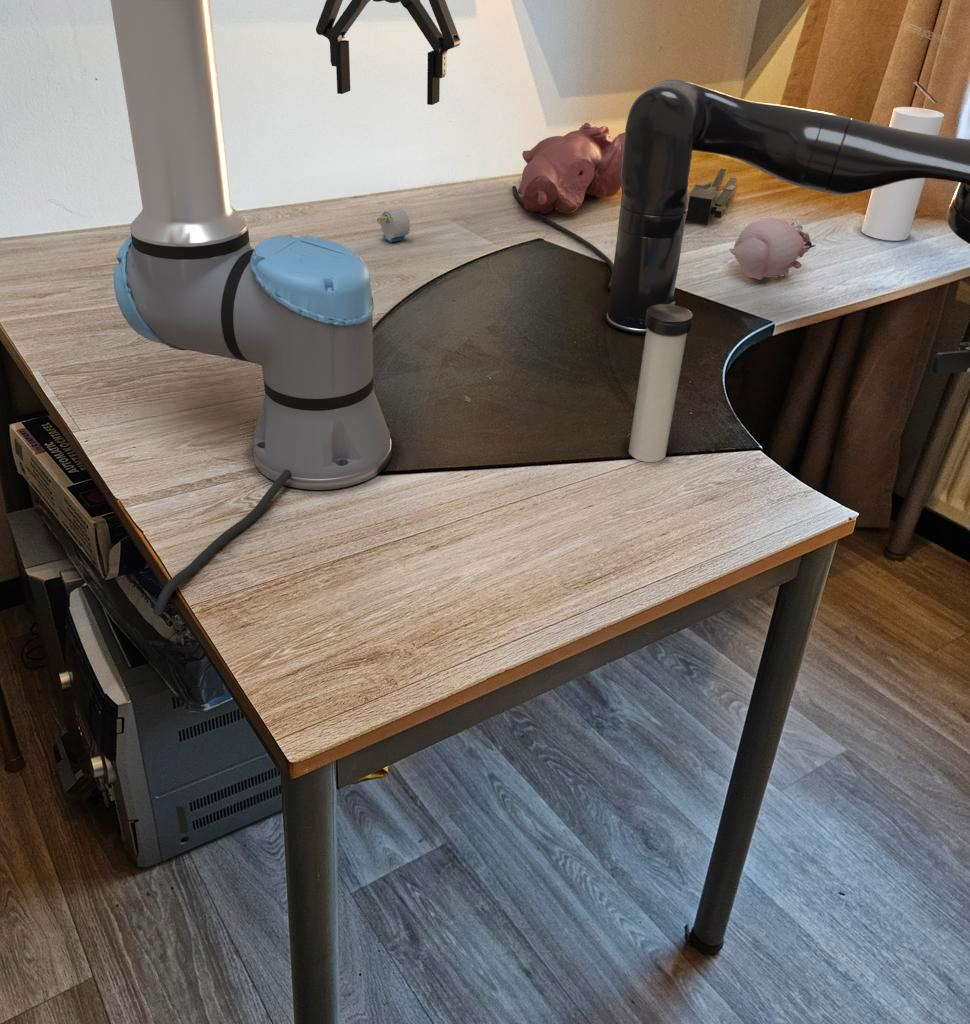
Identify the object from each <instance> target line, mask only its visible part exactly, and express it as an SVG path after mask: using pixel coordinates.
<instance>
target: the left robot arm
mask: <svg viewBox="0 0 970 1024" xmlns="http://www.w3.org/2000/svg"><path fill="white" fill-rule="evenodd" d="M343 1H344V0H325V3H324V5H323V8H322V11H321V13H320V16H319V19H318V22H317V24H316V27H315V33H316V34H317V35H318V36H323V37H324V38H326V39H327V40H328V42H329V54H330V56H329V57H330V65H331V67H335V70H336V71H335V72H336V94H339V95H343V94H346V93H349V92H351V67H350V66H351V63H350V41H349V40H345V38H346V36H345V35H347V33H348V31H349V30H350V29H351V27H352V26H353V24H354V23H355V21H356V20H357V19H358V18H359V16H360V14H361V13H362V12H363V10H364V9H365V8H366V6H367V5H368V4H369V3H370V2H371V1H372V2H377V3H380V2H384V1H385V2H387V3H389V4H398V3H400V4H401V5H402V7H403V8H405V9H406V10H407V12H408V13H409V15H410V17H411V18H412V20H413V21H414V22H415V24H416V26H417V27H418V29H419V31H420V32H421V33H422V35H423V36H424V38H425V39H426V40H427V43H428V44H429V46H430V47H431V48H432V50H431V51H428V52H427V74H426V75H427V79H426V80H427V85H426V87H427V88H426V105H429V106H433V105H435V104H438V103H440V93H441V92H440V91H441V90H440V89H441V87H440V86H441V83H440V81H441V79H443V78H445V77H446V74H447V54H448V51H449V50H451V49H454V48H457V47H459V46H460V45H461V42H462V41H461V38H460V35H459V33H458V30H457V27H456V24H455V22H454V19H453V17H452V14H451V11H450V9H449V7H448V4H447V1H446V0H428V2H429V5H430V8H431V10H432V13H433V15H434V18H435V21H436V23H437V25H438V26H437V25H436V23H435V22H434V20H433V19H432V17H431V15H429V13H428V11H427V9H426V8H425V6H424V5H423V3H422V2H421V0H351V1H350V2H349V3H348V5H347V6H346V8H345V9H344V11H343V12H342V14H341V15H340V16H339V18H338V19H337V17H338V14H339V12H340V9H341V6H342V4H343ZM110 6H111V12H112V19H113V20H112V21H113V27H114V31H115V39H116V45H117V52H118V59H119V64H120V70H121V77H122V84H123V90H124V96H125V97H124V98H125V103H126V110H127V116H128V122H129V123H128V124H129V129H130V136H131V142H132V149H133V156H134V161H135V169H136V175H137V180H138V187H139V194H140V199H141V206H142V210H141V211H140V212H139V214H138V215H137V216H136V217H135V218H134V220H133V221H132V222H131V224H130V225H129V232H130V236H128V237H127V238H126V239H125V240H124V241H123V243H122V244H121V246H120V247H119V249H118V252H117V256H116V260H117V261H118V265H117V266H114V268H113V288H114V294H115V298H116V302H117V305H118V307H119V310H120V312H121V315H122V316H123V318H124V319H125V321H126V323H127V324H128V325H129V327H130V328H131V329H133V331H134V332H136V333H137V334H138V335H139V336H141V337H143V338H144V339H145V340H148V341H150V342H154V343H157V344H161V345H164V346H167V347H169V348H171V349H174V350H178V351H191V352H197V353H202V354H207V355H211V356H216V357H222V358H226V359H231V360H236V361H242V362H248V363H251V364H252V363H253V364H257V365H259V366H261V370H262V379H263V388H264V390H263V391H264V396H263V400H262V404H261V408H260V412H259V415H258V419H257V423H256V427H255V430H254V434H253V439H252V441H253V442H252V455H253V460H254V464H255V467H256V468H257V470H258V471H259V472H260V473H261V474H262V475H263V476H265V477H266V478H268V479H269V480H271V481H273V484H272V485H271V486H270V487H269V488H268V489H267V491H266V492H265V493H264V495H263V496H262V497H261V499H260V500H259V502H257V504H256V506H254V508H253V509H252V510H251V511H250V512H249V513H248V514H247V515H246V516H244V517H243V518H242V519H241V520H239V521H238V522H236V523H235V524H233V525H232V526H230V527H229V528H228V529H227V530H225V531H224V532H223V533H222V534H220V535H219V536H218V537H217V538H216V539H214V540H213V541H212V542H211V543H210V544H209V545H208V546H207V547H206V548H205V549H203V551H201V553H200V554H198V555H197V557H196V558H195V559H193V560H192V561H191V562H190V563H189V564H188V565H187V566H185V568H183V569H182V570H181V571H179V572H177V574H175V575H174V576H173V577H171V578H170V580H168V582H167V583H166V584H165V585H164V587H163V588H162V590H161V591H160V593H159V595H158V598H157V599H156V603H155V605H154V608H153V612H152V613H153V615H154V616H155V617H157V616H159V617H160V616H161V615H163V614H164V613H165V611H166V608H167V606H168V603H169V601H170V598H171V596H172V595H173V594H174V591H175V590H176V589H177V588H178V586H180V585H181V584H183V582H185V581H186V580H188V579H189V578H190V577H192V576H193V575H194V574H196V572H197V571H198V570H199V569H200V568H201V567H202V566H203V565H204V564H205V563H206V562H207V561H208V560H209V559H210V558H211V557H213V555H214V554H215V553H216V552H217V551H218V550H220V549H221V548H222V547H223V546H224V545H225V544H227V542H229V541H231V539H232V538H234V537H235V536H236V535H238V534H239V533H241V532H242V531H244V530H245V529H246V528H247V527H249V526H250V525H251V524H252V523H254V522H255V521H256V520H257V519H258V518H259V517H260V515H262V513H263V512H264V511H265V510H266V509H267V507H268V506H269V505H270V503H271V502H272V500H273V499H274V498H275V496H276V495H277V494H278V492H279V491H280V490H281V489H282V488H283V486H286V487H290V488H295V489H301V490H312V491H314V490H315V491H323V490H327V491H328V490H337V489H342V488H348V487H351V486H355V485H358V484H361V483H363V482H366V481H368V480H370V479H373V478H374V477H375V476H377V475H378V474H380V473H381V472H382V471H383V470H384V469H385V468H386V467H387V466H388V464H389V463H390V461H391V458H392V438H391V432H390V430H391V427H390V426H389V424H388V422H387V420H386V419H385V417H384V413H383V411H382V408H381V406H380V403H379V400H378V398H377V395H376V393H375V385H374V320H373V319H374V318H373V317H374V315H373V314H374V308H375V301H374V297H373V292H372V283H371V275H370V270H369V267H368V266H367V264H366V263H365V262H364V260H363V259H362V258H361V257H360V256H359V254H357V253H356V252H355V251H353V250H352V249H351V248H348V247H346V246H345V245H343V244H340V243H338V242H335V241H331V240H329V239H324V238H322V237H317V236H310V235H300V236H299V237H296V236H293V235H288V234H287V235H279V236H273V237H269V238H265V239H264V240H262V241H260V242H259V243H258V244H257V245H255V247H254V248H253V247H251V242H250V241H251V240H250V233H249V223H248V220H247V219H246V218H245V216H243V215H242V214H240V213H239V212H238V211H237V210H236V209H234V207H233V206H232V203H231V194H230V185H229V183H230V182H229V175H228V174H229V173H228V165H227V156H226V155H227V154H226V146H225V137H224V129H223V128H224V127H223V118H222V117H223V115H222V106H221V97H220V88H219V78H218V67H217V59H216V57H217V56H216V49H215V40H214V30H213V29H214V28H213V21H212V20H213V19H212V11H211V2H210V0H110ZM336 19H337V21H336ZM174 808H175V811H176V812H175V814H176V817H177V818H176V819H177V825H178V830H179V833H180V834H186V833H188V832H189V824H188V818H187V812H186V807H185V806H178V805H175V806H174Z"/></svg>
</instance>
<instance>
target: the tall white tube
mask: <svg viewBox="0 0 970 1024" xmlns="http://www.w3.org/2000/svg"><path fill="white" fill-rule="evenodd" d="M904 30H905V31H907V32H910V33H912V32H913V34H915V33H916V34H917V35H918V36H921V37H923V38H924V37H925V39H928V40H930V41H931V40H932V41H933V42H937V40H938V44H939V43H940V44H942V45H943V46H946V47H947V48H948V47H949V49H950V48H951V49H952V50H953V49H954V48H955V45H956V40H954V39H951V38H948V37H946V36H942V37H941V34H938V35H937V33H934V32H933V31H931V30H926V29H923V34H921V31H922V27H920V26H918V25H915V24H912V23H909V22H908V21H907V22H905V26H904ZM927 33H928V35H927ZM940 37H941V38H940ZM940 39H941V42H940ZM945 39H946V40H945ZM944 42H945V43H944ZM952 43H954V44H953V46H952ZM913 84H914V85H915V86H916V87H917V88H919V90H920V91H921V92H922V95H923V96H924V97H926V98H928V99H929V100H930V101H931V102H932V103H934V104H937V103H938V101H937V100H936V99H935V98H934V97H932V95H931V94H930V93H929V92H928V91H927V90H926V89H925V88H924V87H923V86H922V85H921V84H920V83H919V82H918V81H915V80H914V82H913ZM944 117H945V114H944V113H943V112H940V111H937V110H936V109H935V110H934V109H929V108H924V107H915V106H914V107H913V106H897V107H894V108H893V110H892V114H891V118H890V122H889V126H888V127H891V128H896V129H901V130H906V131H912V132H917V133H923V134H929V135H937V136H939V134H940V130H941V127H942V124H943V121H944ZM925 182H926V178H920V179H910V180H904V181H900V182H896V183H892V184H889V185H885V186H882V187H879V188H875V189H872V190H871V193H870V196H869V201H868V203H867V208H866V212H865V215H864V220H863V222H862V227H861V232H862V233H863V234H864V235H866V236H868V237H871V238H873V239H878V240H884V241H893V242H895V241H897V242H898V241H899V242H900V241H905V240H907V239H909V236H910V233H911V229H912V226H913V222H914V219H915V215H916V211H917V210H918V209H917V208H918V206H919V202H920V198H921V195H922V191H923V188H924V184H925Z"/></svg>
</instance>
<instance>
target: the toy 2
mask: <svg viewBox="0 0 970 1024" xmlns="http://www.w3.org/2000/svg"><path fill="white" fill-rule="evenodd" d="M817 246H818V245H817V244H813V243H812V240H811V236H810V234H809V232H808V231H807V232H805V231H804V227H803V226H802V225H800V224H799V223H798V222H796V221H794V222H791V224H790V223H789V222H788V221H787V220H785V219H782V218H779V217H776V216H761V217H758V218H756V219H755V220H753V221H752V222H750V223H749V224H747V225H746V227H744V229H743V230H742V231H741V233H740V234H739V236H738V238H737V239H736V240H735V242H734V245H733V248H729V252H730V253H731V254H732V255H733V256H734V258H735V260H736V261H737V263H738V265H739V266H740V269H741V271H742V272H743V273H744V275H745V276H747V277H748V278H751V279H755V280H762V279H764V278H765V277H766V278H768V277H769V278H771V277H772V278H773V277H774V278H778V279H779V278H780V276H783V277H782V278H785V277H786V276H788V275H789V274H790V269H791V268H793V267H794V268H795V269H801V268H802V266H803V265H802V263H801V262H800V261H799V259H802V258H803V256H804V255H805V254H806V253H808V252H809V251H810V249H811V248H815V247H817Z"/></svg>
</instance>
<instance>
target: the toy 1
mask: <svg viewBox="0 0 970 1024" xmlns="http://www.w3.org/2000/svg"><path fill="white" fill-rule="evenodd" d="M727 171H728V170H727V169H726V168H720V169H719V171H718V173H717V175H716V177H715V178H714V180H713V182H710V181H704V182H700V183H697V184H695V185H694V187H693V188H692V190H691V191H690V197H689V203H688V209H687V215H686V221H685V222H687V223H693V224H699V225H706V226H707V225H709V223H711V221H712V220H713V218H716V219H722V217H723V216H724V215H725V212H726V204H727V203H728V201H729V199H730V198H731V197H732V196H734V195H735V194H736V193H737V188H738V185H736V182H737V177H732V176H731V177H730V178H729V179H728V180H727V182H726V183H725V185H724V187H723V188H722V190H719V189H720V188H721V186H722V184H723V181H724V180H725V178H726V176H727Z"/></svg>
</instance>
